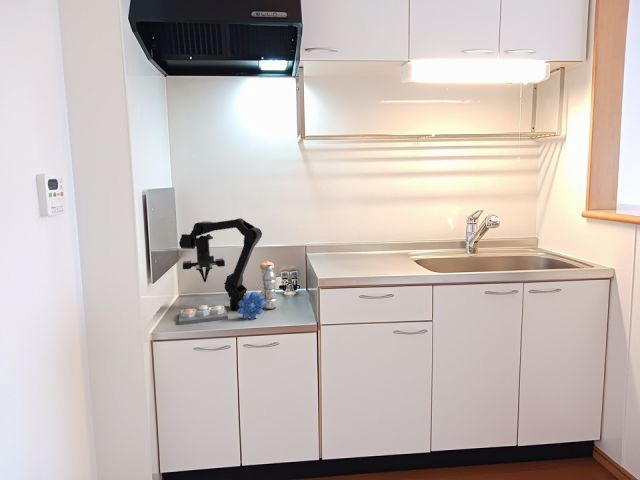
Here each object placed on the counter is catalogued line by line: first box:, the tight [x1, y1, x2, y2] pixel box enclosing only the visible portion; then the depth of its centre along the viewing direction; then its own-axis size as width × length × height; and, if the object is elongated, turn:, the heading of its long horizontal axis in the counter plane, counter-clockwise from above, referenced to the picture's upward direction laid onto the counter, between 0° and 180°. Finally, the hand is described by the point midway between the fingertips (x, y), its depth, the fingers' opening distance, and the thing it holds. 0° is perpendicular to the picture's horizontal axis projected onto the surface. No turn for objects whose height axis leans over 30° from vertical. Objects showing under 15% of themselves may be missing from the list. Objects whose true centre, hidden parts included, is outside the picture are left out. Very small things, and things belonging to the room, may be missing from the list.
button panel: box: [178, 305, 229, 326], centre depth 189 cm, size 20×14×4 cm
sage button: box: [211, 304, 223, 310], centre depth 190 cm, size 4×4×2 cm
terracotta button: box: [183, 307, 194, 313], centre depth 187 cm, size 4×4×2 cm
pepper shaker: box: [259, 260, 275, 300], centre depth 214 cm, size 7×7×19 cm
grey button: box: [197, 304, 209, 311], centre depth 188 cm, size 4×4×2 cm
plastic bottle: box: [261, 265, 278, 310], centre depth 198 cm, size 6×7×20 cm
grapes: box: [237, 290, 265, 320], centre depth 185 cm, size 12×7×12 cm, turn 99°
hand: (204, 281), depth 202 cm, fingers closed
